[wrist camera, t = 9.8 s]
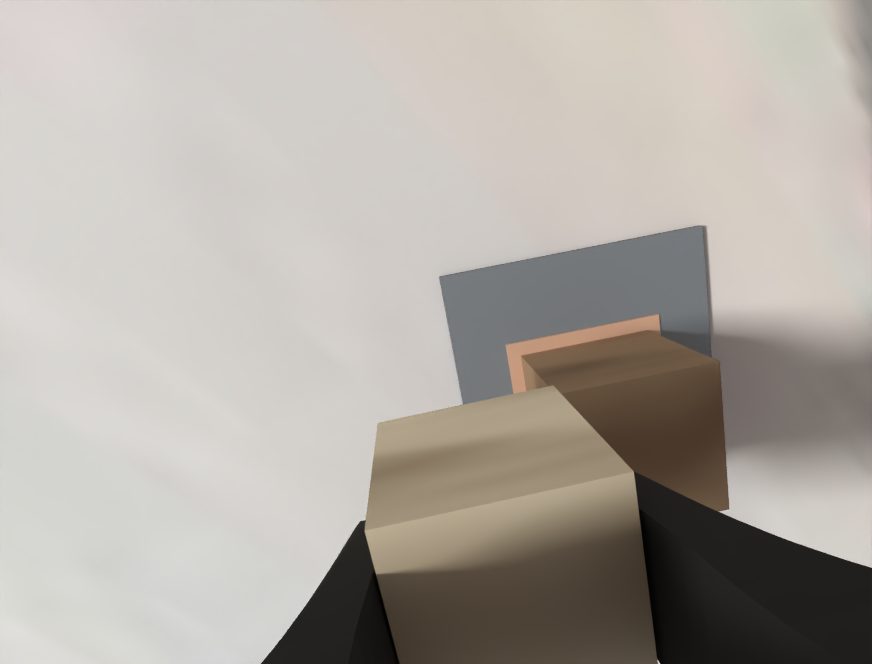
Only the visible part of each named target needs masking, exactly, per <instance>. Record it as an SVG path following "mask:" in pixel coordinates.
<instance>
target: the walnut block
mask: <svg viewBox="0 0 872 664" xmlns="http://www.w3.org/2000/svg"><path fill="white" fill-rule="evenodd" d="M521 360H522V367H523V373H524V379H525V386H526V391H529V390H534V389H539V388H543V387H548V386H554V387H555V388H556V389H557V390H558V391H559V392H560V393H561V394H562V395H563V396H564V397H565V399H566V400H567V401H568V402H569V403H570V404H571V405H572V406H573V407H574V408H575V409H576V410H577V411H578V412H579V413H580V415H581V416H582V417H583V418H584V419H585V420H586V421H587V422H588V423H589V424H590V425H591V426H592V427H593V428H594V430H595V431H596V432H597V433H598V434H599V435H600V436H601V437H602V438H603V439H604V440H605V441H606V442H607V443H608V445H609V446H610V447H611V448H612V449H613V450H614V451H615V452H616V453H617V454H618V455H619V456H620V457H621V458H622V460H623V461H624V462H625V463H626V464H627V465H628V466H629V467H630V468H631V469H632V470H633V471H635V472H637V473H639V474H641V475H643V476H645V477H647V478H649V479H651V480H653V481H655V482H657V483H659V484H661V485H663V486H665V487H667V488H669V489H671V490H673V491H675V492H677V493H679V494H682V495H684V496H686V497H688V498H690V499H692V500H694V501H696V502H698V503H700V504H703V505H705V506H707V507H709V508H711V509H713V510H716V511H723V510H727V509H729V498H728V483H727V467H726V452H725V436H724V421H723V406H722V390H721V375H720V361H718V360H715V359H713V358H711V357H708V356H706V355H704V354H701V353H699V352H697V351H695V350H692V349H690V348H688V347H685V346H683V345H681V344H678V343H676V342H674V341H672V340H669V339H667V338H665V337H662V336H660V335H658V334H655V333H653V332H651V331H649V330H645V331H640V332H635V333H630V334H625V335H620V336H615V337H610V338H605V339H600V340H595V341H590V342H586V343H581V344H576V345H571V346H566V347H561V348H556V349H551V350H546V351H541V352H536V353H531V354H526V355H521Z"/></svg>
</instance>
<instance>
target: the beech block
mask: <svg viewBox="0 0 872 664" xmlns="http://www.w3.org/2000/svg"><path fill="white" fill-rule="evenodd" d="M365 535H366V538H367V542H368V546H369V550H370V553H371V557H372V561H373V565H374V569H375V572H376V576H377V580H378V584H379V588H380V591H381V595H382V599H383V603H384V606H385V610H386V614H387V618H388V622H389V625H390V629H391V633H392V637H393V641H394V644H395V648H396V652H397V656H398V660H399V663H400V664H658V662H657V654H656V646H655V638H654V630H653V622H652V614H651V606H650V598H649V589H648V581H647V573H646V565H645V557H644V549H643V541H642V533H641V525H640V517H639V509H638V501H637V493H636V485H635V477H634V471H633V470H632V469H631V468H630V467H629V466H628V465H627V464H626V463H625V462H624V461H623V460H622V458H621V457H620V456H619V455H618V454H617V453H616V452H615V451H614V450H613V449H612V448H611V447H610V446H609V445H608V443H607V442H606V441H605V440H604V439H603V438H602V437H601V436H600V435H599V434H598V433H597V432H596V431H595V430H594V428H593V427H592V426H591V425H590V424H589V423H588V422H587V421H586V420H585V419H584V418H583V417H582V416H581V415H580V413H579V412H578V411H577V410H576V409H575V408H574V407H573V406H572V405H571V404H570V403H569V402H568V401H567V400H566V399H565V397H564V396H563V395H562V394H561V393H560V392H559V391H558V390H557V389H556V388H555V387H554V386H548V387H543V388H539V389H534V390H529V391H525V392H520V393H515V394H511V395H506V396H501V397H497V398H492V399H487V400H483V401H478V402H474V403H469V404H464V405H460V406H455V407H450V408H446V409H441V410H436V411H432V412H427V413H422V414H418V415H413V416H408V417H404V418H399V419H395V420H390V421H385V422H381V423H378V426H377V434H376V442H375V450H374V459H373V467H372V475H371V483H370V491H369V499H368V507H367V515H366V523H365Z"/></svg>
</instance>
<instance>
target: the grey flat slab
mask: <svg viewBox="0 0 872 664" xmlns="http://www.w3.org/2000/svg"><path fill="white" fill-rule="evenodd" d="M439 279H440V284H441V289H442V295H443V300H444V305H445V310H446V316H447V321H448V326H449V332H450V337H451V342H452V348H453V353H454V358H455V364H456V369H457V374H458V380H459V385H460V390H461V396H462V401H463V405H464V404H469V403H474V402H478V401H483V400H487V399H492V398H497V397H501V396H506V395H511V394H515V393H520V392H525V391H526V386H525V379H524V373H523V367H522V360H521V355H526V354H531V353H536V352H541V351H546V350H551V349H556V348H561V347H566V346H571V345H576V344H581V343H586V342H590V341H595V340H600V339H605V338H610V337H615V336H620V335H625V334H630V333H635V332H640V331H645V330H649V331H651V332H653V333H655V334H658V335H660V336H662V337H665V338H667V339H669V340H672V341H674V342H676V343H678V344H681V345H683V346H685V347H688V348H690V349H692V350H695V351H697V352H699V353H701V354H704V355H706V356H708V357H711V343H710V328H709V314H708V299H707V285H706V270H705V255H704V241H703V226H694V227H689V228H684V229H679V230H674V231H668V232H663V233H658V234H653V235H648V236H643V237H638V238H633V239H628V240H623V241H618V242H613V243H608V244H603V245H597V246H592V247H587V248H582V249H577V250H572V251H567V252H562V253H557V254H552V255H547V256H542V257H537V258H532V259H526V260H521V261H516V262H511V263H506V264H501V265H496V266H491V267H486V268H481V269H476V270H471V271H466V272H461V273H455V274H450V275H445V276H440V277H439Z"/></svg>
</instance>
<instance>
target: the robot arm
mask: <svg viewBox="0 0 872 664" xmlns="http://www.w3.org/2000/svg"><path fill="white" fill-rule="evenodd" d="M634 477H635V485H636V493H637V501H638V509H639V517H640V525H641V533H642V541H643V549H644V557H645V565H646V573H647V581H648V589H649V598H650V606H651V614H652V622H653V630H654V638H655V646H656V654H657V659H658V661H659V662H660V664H872V568H870V567H867V566H864V565H860V564H857V563H854V562H850V561H847V560H844V559H841V558H838V557H835V556H832V555H829V554H826V553H823V552H820V551H817V550H814V549H811V548H808V547H806V546H803V545H800V544H797V543H794V542H791V541H789V540H786V539H783V538H781V537H778V536H775V535H773V534H770V533H768V532H765V531H763V530H760V529H758V528H756V527H753V526H751V525H748V524H746V523H743V522H741V521H738V520H736V519H734V518H731V517H729V516H727V515H725V514H722V513H720V512H718V511H716V510H713V509H711V508H709V507H707V506H705V505H703V504H700V503H698V502H696V501H694V500H692V499H690V498H688V497H686V496H684V495H682V494H679V493H677V492H675V491H673V490H671V489H669V488H667V487H665V486H663V485H661V484H659V483H657V482H655V481H653V480H651V479H649V478H647V477H645V476H643V475H641V474H639V473H637V472H635V471H634ZM365 523H366V520H365V521H360V522H359V524H358V525H357V527H356V528H355V530H354V531H353V533H352V534H351V536H350V538H349V539H348V541H347V542H346V544H345V546H344V547H343V549H342V551H341V552H340V554H339V555H338V557H337V559H336V560H335V562H334V563H333V565H332V567H331V568H330V570H329V571H328V573H327V574H326V576H325V577H324V579H323V580H322V582H321V583H320V585H319V587H318V588H317V590H316V591H315V593H314V594H313V596H312V597H311V599H310V600H309V601H308V603H307V604H306V606H305V607H304V609H303V610H302V611H301V613H300V614H299V615H298V617H297V618H296V619H295V621H294V622H293V624H292V625H291V626H290V628H289V629H288V630H287V632H286V633H285V634H284V636H283V637H282V639H281V640H280V641H279V642H278V644H277V645H276V646H275V647H274V649H273V650H272V651H271V652H270V653H269V655H268V656H267V657H266V658H265V659H264V661H263V662H262V663H261V664H400V663H399V660H398V656H397V652H396V648H395V644H394V641H393V637H392V633H391V629H390V625H389V622H388V618H387V614H386V610H385V606H384V603H383V599H382V595H381V591H380V588H379V584H378V580H377V576H376V572H375V569H374V565H373V561H372V557H371V553H370V550H369V546H368V542H367V538H366V535H365Z"/></svg>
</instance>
